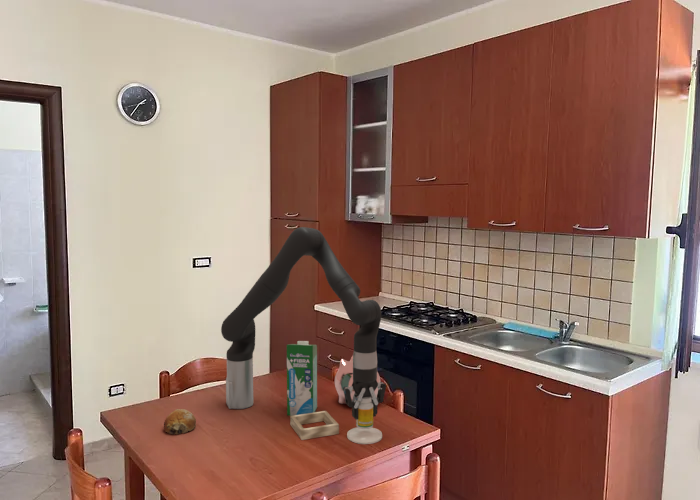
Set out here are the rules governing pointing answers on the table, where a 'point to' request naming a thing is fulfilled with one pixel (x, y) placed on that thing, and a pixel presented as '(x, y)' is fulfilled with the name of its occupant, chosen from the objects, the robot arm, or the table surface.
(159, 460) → the table surface
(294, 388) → the milk carton
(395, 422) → the table surface
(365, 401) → the supplement bottle
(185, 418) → the bread roll
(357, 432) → the coaster
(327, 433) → the frame
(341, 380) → the piggy bank
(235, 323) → the robot arm
